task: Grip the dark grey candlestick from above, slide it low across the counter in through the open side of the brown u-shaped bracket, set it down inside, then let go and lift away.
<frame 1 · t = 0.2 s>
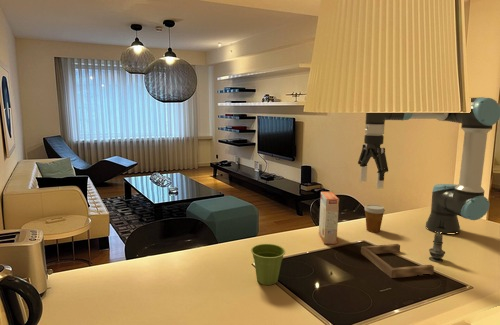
hand: (371, 184, 153), 28 cm above the counter, tool pointing down, fingers open, 13 cm apart
plant pot: (267, 281, 126), on the counter
cracker box: (327, 239, 166), on the counter
dark grey candlestick: (436, 260, 144), on the counter
brown u-shaped bracket: (395, 263, 141), on the counter
disposable coffee cup: (373, 230, 178), on the counter
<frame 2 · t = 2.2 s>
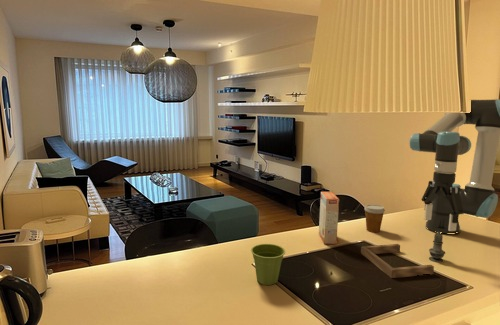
hand: (439, 225, 142), 15 cm above the counter, tool pointing down, fingers open, 13 cm apart
nothing on the counter moved.
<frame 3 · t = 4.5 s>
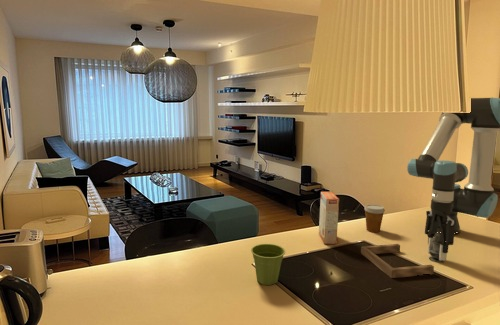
hand: (436, 256, 144), 1 cm above the counter, tool pointing down, fingers closed on dark grey candlestick, 6 cm apart
dark grey candlestick: (436, 260, 144), on the counter, touching gripper
everything else where it was.
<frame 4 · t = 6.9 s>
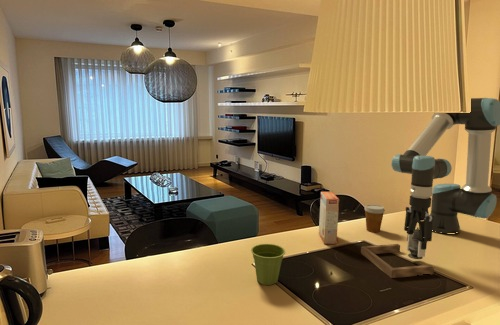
hand: (415, 253, 142), 4 cm above the counter, tool pointing down, fingers closed on dark grey candlestick, 6 cm apart
dark grey candlestick: (415, 256, 142), point 2 cm above the counter, touching gripper
everything else where it was.
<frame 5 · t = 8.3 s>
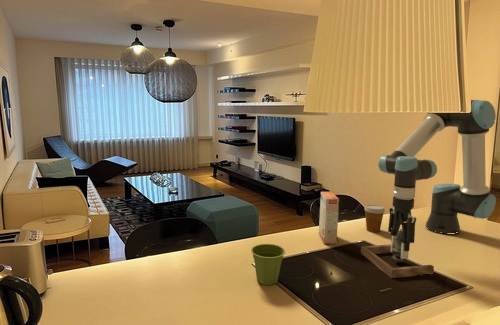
hand: (399, 254, 141), 3 cm above the counter, tool pointing down, fingers closed on dark grey candlestick, 6 cm apart
dark grey candlestick: (398, 258, 141), point 2 cm above the counter, touching gripper
everything else where it was.
when the fingers open (2 cm above the counter, at t = 9.4 s): dark grey candlestick stays where it is, on the counter.
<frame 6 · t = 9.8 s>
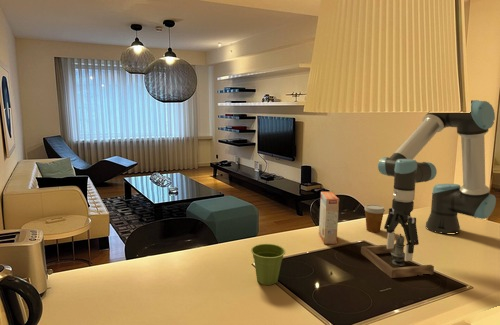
hand: (398, 254, 141), 4 cm above the counter, tool pointing down, fingers open, 11 cm apart
dark grey candlestick: (398, 263, 141), on the counter
everything else where it was.
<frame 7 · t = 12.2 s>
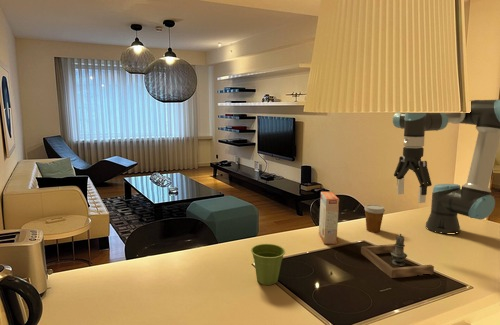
hand: (410, 198, 148), 23 cm above the counter, tool pointing down, fingers open, 13 cm apart
nothing on the counter moved.
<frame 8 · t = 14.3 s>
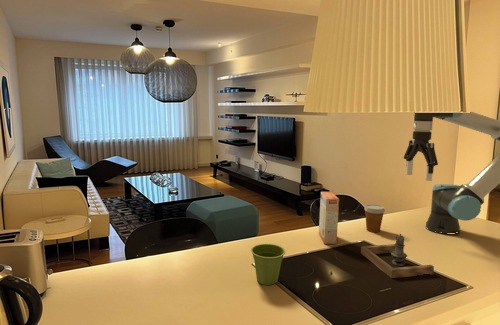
hand: (418, 177, 163), 29 cm above the counter, tool pointing down, fingers open, 13 cm apart
nothing on the counter moved.
at the end: dark grey candlestick inside the target area on the brown u-shaped bracket (1.1 cm from its centre), point 0.0 cm above the brown u-shaped bracket's base; dark grey candlestick tilted 0°; the gripper is holding nothing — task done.
